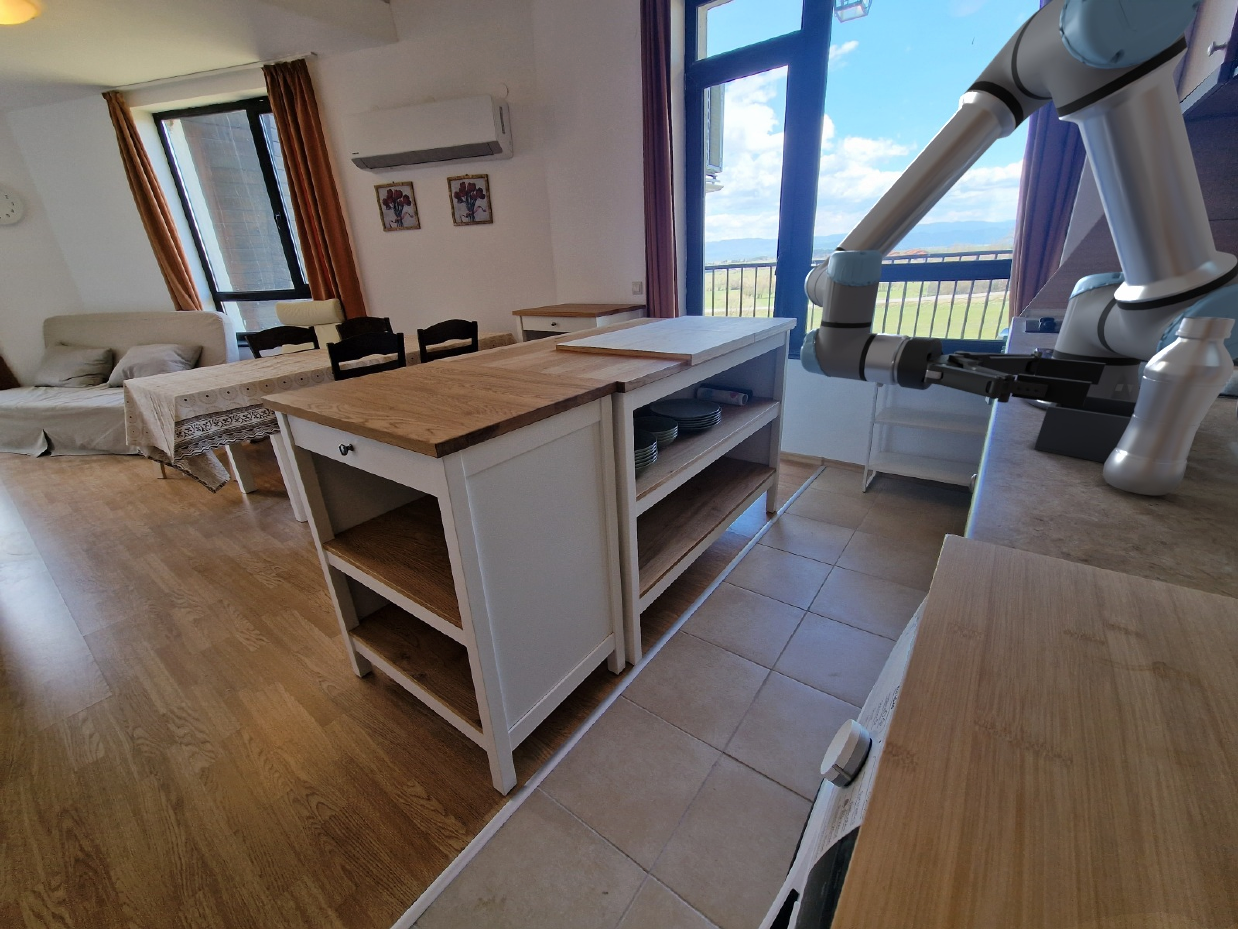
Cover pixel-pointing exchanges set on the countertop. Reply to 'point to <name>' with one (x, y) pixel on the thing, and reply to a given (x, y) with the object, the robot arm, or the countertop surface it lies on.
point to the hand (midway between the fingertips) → (1095, 383)
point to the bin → (1085, 428)
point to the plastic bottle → (1171, 408)
